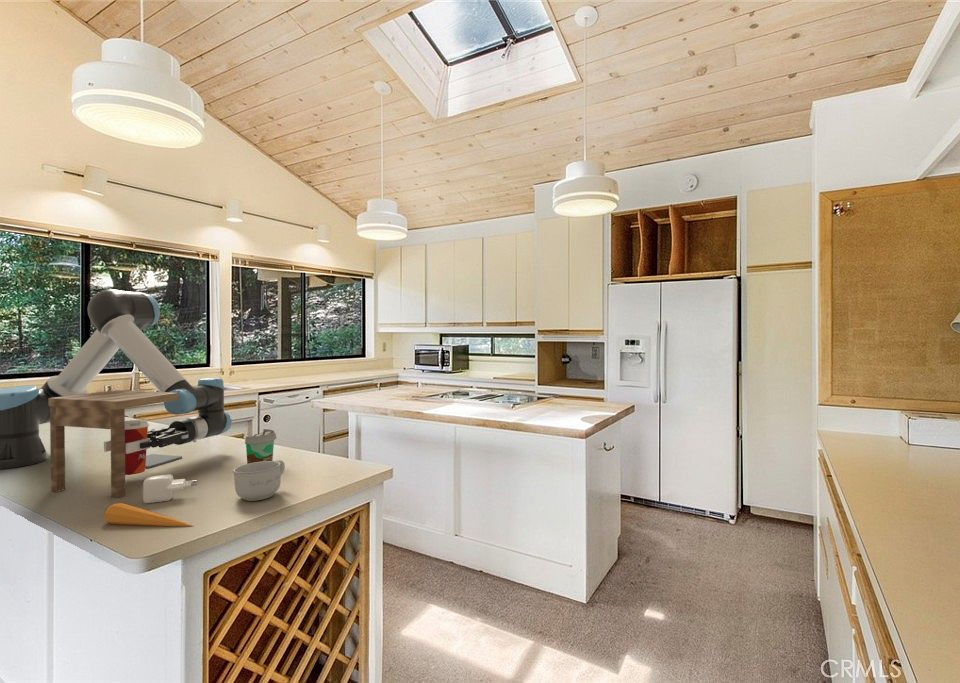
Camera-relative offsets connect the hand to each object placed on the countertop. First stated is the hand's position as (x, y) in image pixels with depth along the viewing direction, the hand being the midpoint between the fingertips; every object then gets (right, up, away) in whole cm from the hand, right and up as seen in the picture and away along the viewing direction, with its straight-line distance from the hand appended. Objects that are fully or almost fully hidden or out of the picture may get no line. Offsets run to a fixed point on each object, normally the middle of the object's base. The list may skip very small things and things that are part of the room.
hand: (116, 447), depth 129 cm
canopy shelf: (0, -10, +1) cm, 10 cm away
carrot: (+27, -11, -26) cm, 39 cm away
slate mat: (-7, -10, +23) cm, 26 cm away
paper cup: (+1, -8, +5) cm, 10 cm away
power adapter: (+21, -11, -10) cm, 26 cm away
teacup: (+43, -11, -7) cm, 45 cm away
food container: (+31, -10, +20) cm, 38 cm away
